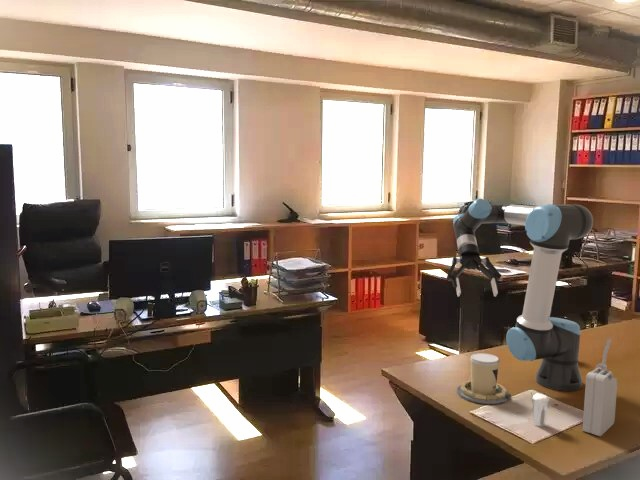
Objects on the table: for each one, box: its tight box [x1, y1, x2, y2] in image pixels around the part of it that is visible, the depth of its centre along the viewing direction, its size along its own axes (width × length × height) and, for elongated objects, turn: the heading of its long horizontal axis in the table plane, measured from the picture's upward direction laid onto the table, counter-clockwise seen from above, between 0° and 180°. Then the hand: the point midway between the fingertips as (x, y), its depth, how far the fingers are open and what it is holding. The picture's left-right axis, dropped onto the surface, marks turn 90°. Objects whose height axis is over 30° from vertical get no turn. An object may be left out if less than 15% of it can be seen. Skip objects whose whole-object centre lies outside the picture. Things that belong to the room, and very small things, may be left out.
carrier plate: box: [456, 379, 511, 406], centre depth 184 cm, size 17×17×2 cm
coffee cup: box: [469, 352, 500, 395], centre depth 184 cm, size 9×9×12 cm
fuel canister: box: [582, 337, 618, 437], centre depth 161 cm, size 15×5×25 cm, turn 135°
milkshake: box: [530, 392, 550, 427], centre depth 162 cm, size 5×5×10 cm
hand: (477, 294), depth 201 cm, fingers open, 13 cm apart
